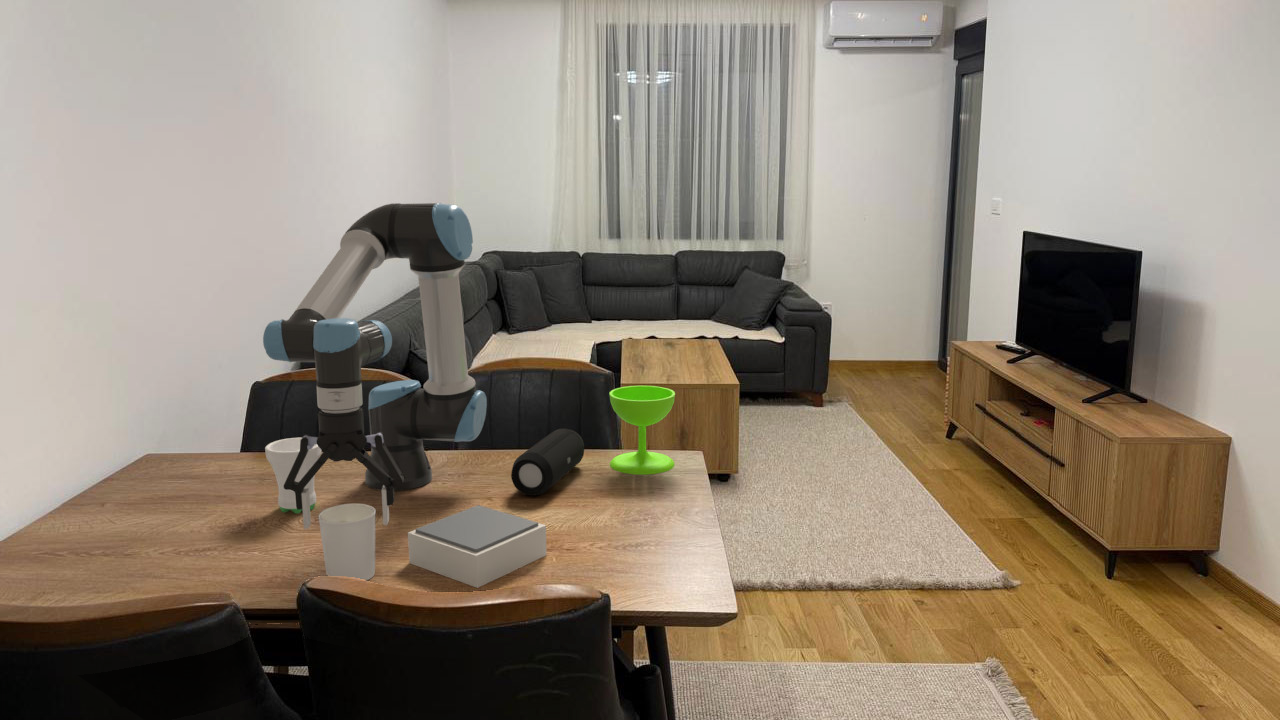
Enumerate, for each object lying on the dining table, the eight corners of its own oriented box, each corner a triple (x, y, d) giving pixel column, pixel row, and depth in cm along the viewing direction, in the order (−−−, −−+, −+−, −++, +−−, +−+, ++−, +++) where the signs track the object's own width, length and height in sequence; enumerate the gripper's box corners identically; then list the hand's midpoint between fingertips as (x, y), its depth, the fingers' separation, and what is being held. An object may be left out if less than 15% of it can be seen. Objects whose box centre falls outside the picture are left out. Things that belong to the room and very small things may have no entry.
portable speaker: (549, 501, 216) (548, 457, 213) (507, 497, 218) (506, 453, 216) (587, 466, 240) (587, 427, 238) (549, 463, 242) (549, 424, 240)
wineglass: (599, 470, 237) (598, 397, 233) (624, 452, 251) (623, 383, 248) (661, 477, 231) (662, 403, 227) (683, 458, 246) (684, 388, 242)
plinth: (409, 563, 182) (407, 529, 181) (479, 533, 197) (478, 502, 195) (477, 587, 172) (476, 552, 171) (546, 555, 186) (545, 522, 185)
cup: (335, 507, 211) (330, 444, 208) (286, 521, 203) (281, 455, 200) (308, 495, 219) (304, 434, 216) (260, 508, 211) (255, 444, 208)
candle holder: (329, 565, 181) (325, 504, 179) (383, 563, 182) (380, 502, 180) (316, 588, 172) (312, 523, 169) (374, 586, 173) (370, 521, 170)
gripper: (260, 415, 165) (269, 535, 169) (412, 411, 169) (417, 528, 173) (270, 405, 172) (278, 520, 176) (415, 401, 176) (420, 513, 180)
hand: (347, 524), depth 175 cm, fingers open, 13 cm apart
